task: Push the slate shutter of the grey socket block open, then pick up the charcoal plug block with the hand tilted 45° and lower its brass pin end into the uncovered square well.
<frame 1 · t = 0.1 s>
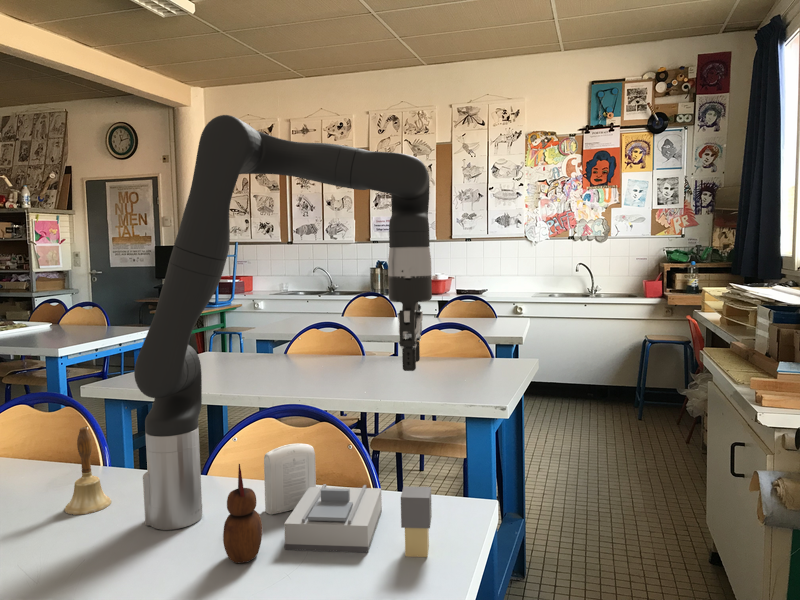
hand: (411, 365, 106), 29 cm above the table, tool pointing down, fingers open, 8 cm apart
wooden figurine: (243, 558, 98), on the table
shutter: (331, 504, 103), point 6 cm above the table, slide at 0.0 cm
socket: (336, 529, 107), on the table
hand bell: (88, 507, 120), on the table
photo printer: (291, 508, 117), on the table
plug: (417, 551, 99), on the table
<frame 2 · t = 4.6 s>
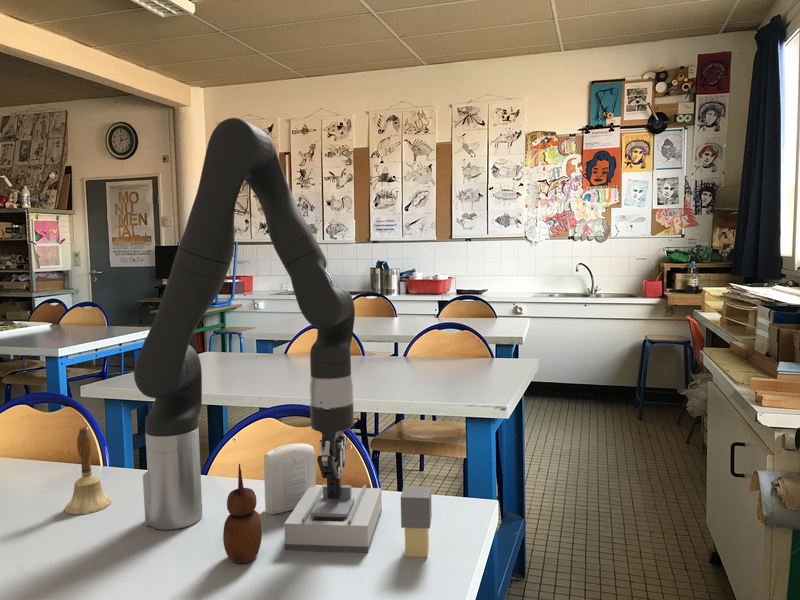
hand: (334, 497, 106), 6 cm above the table, tool pointing down, fingers closed
shutter: (333, 500, 105), point 6 cm above the table, slide at 1.6 cm, touching gripper
everything else where it was.
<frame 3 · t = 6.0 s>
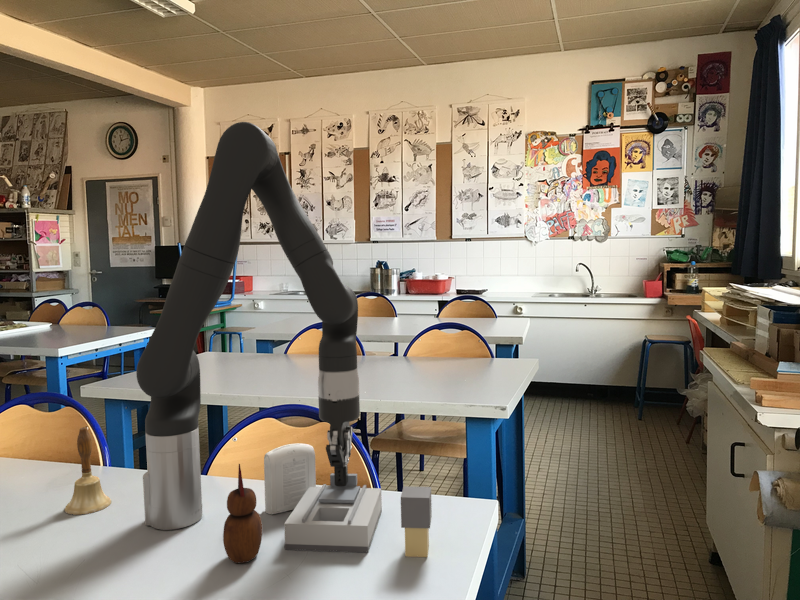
hand: (341, 484, 112), 6 cm above the table, tool pointing down, fingers closed
shutter: (340, 487, 111), point 6 cm above the table, slide at 7.4 cm, touching gripper
everything else where it was.
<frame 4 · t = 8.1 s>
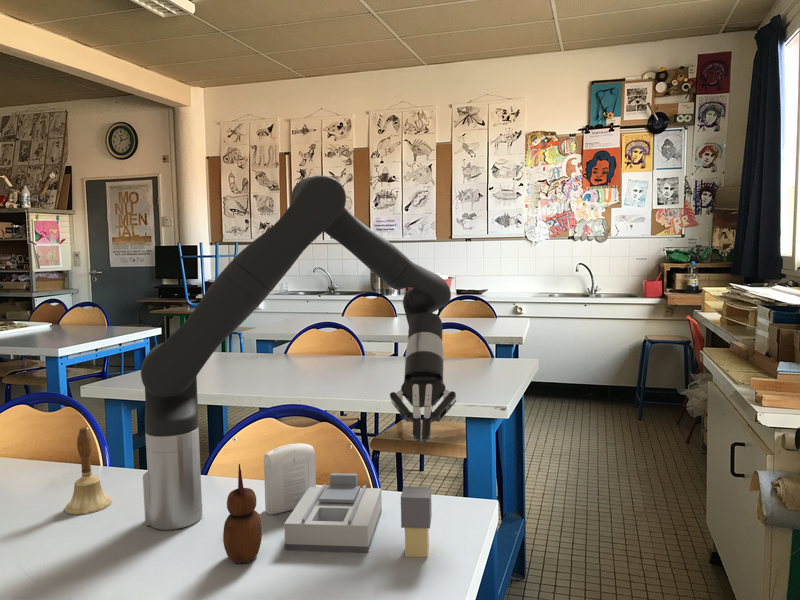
hand: (421, 440, 108), 15 cm above the table, tool tilted 45°, fingers closed
shutter: (340, 487, 111), point 6 cm above the table, slide at 7.5 cm
everything else where it was.
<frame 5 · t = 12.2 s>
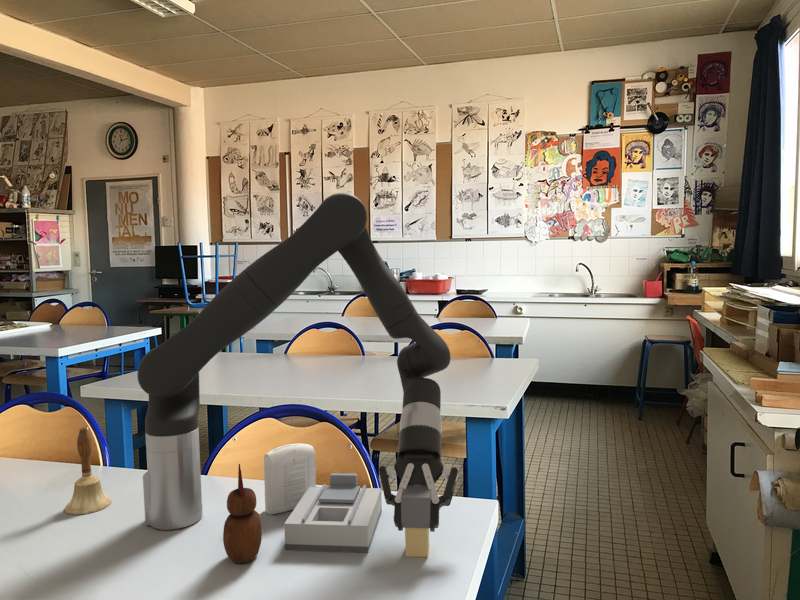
hand: (416, 528, 97), 5 cm above the table, tool tilted 45°, fingers closed on plug, 4 cm apart
plug: (417, 551, 99), on the table, touching gripper
everything else where it was.
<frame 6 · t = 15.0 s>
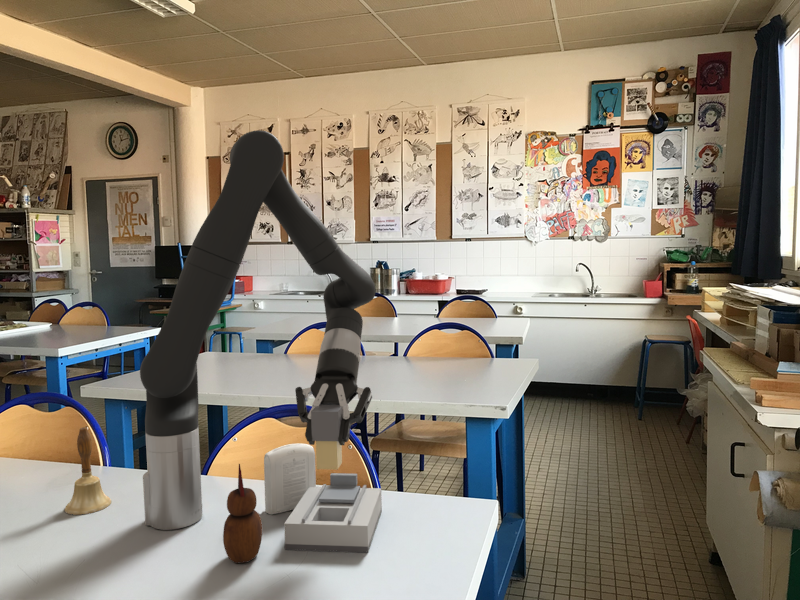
hand: (326, 442, 100), 18 cm above the table, tool tilted 45°, fingers closed on plug, 4 cm apart
plug: (329, 465, 102), point 13 cm above the table, touching gripper
everything else where it was.
when the fingers open (7 cm above the table, at t = 17.7 s): plug drops 1 cm, resting on socket.
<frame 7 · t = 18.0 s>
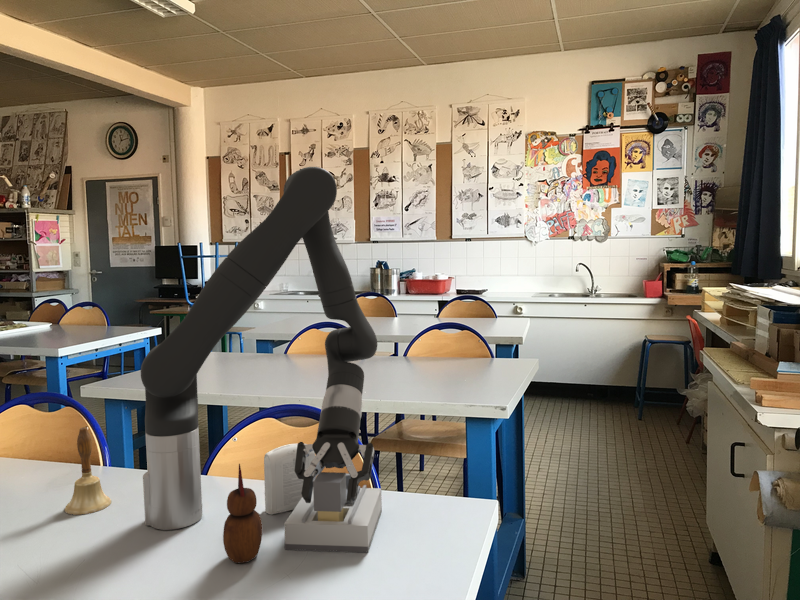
hand: (328, 501, 101), 7 cm above the table, tool tilted 45°, fingers open, 6 cm apart
plug: (331, 534, 103), point 1 cm above the table, touching socket
everything else where it was.
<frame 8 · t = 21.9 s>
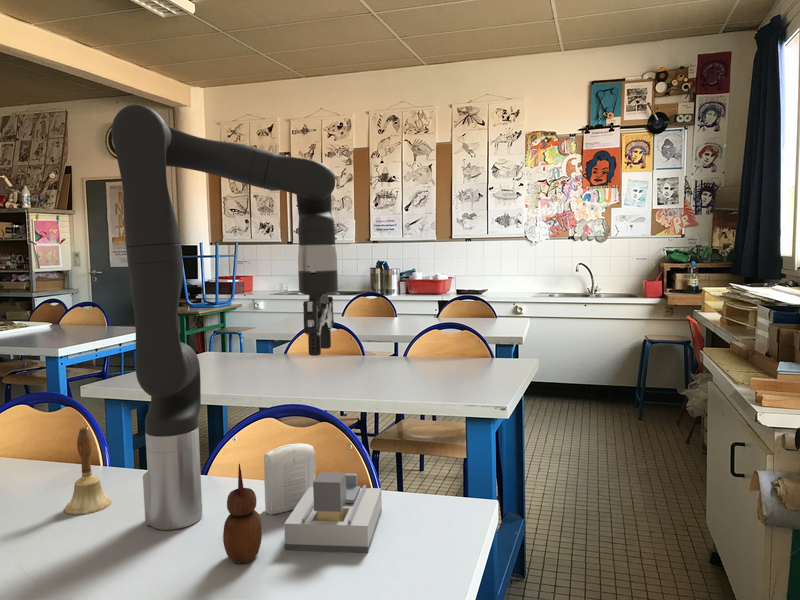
hand: (320, 351, 118), 30 cm above the table, tool pointing down, fingers open, 8 cm apart
nothing on the table moved.
at the end: plug 0.1 cm from the target spot on the socket, point 1.0 cm above the socket's base; plug tilted 0°; shutter slide at 7.5 cm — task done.
